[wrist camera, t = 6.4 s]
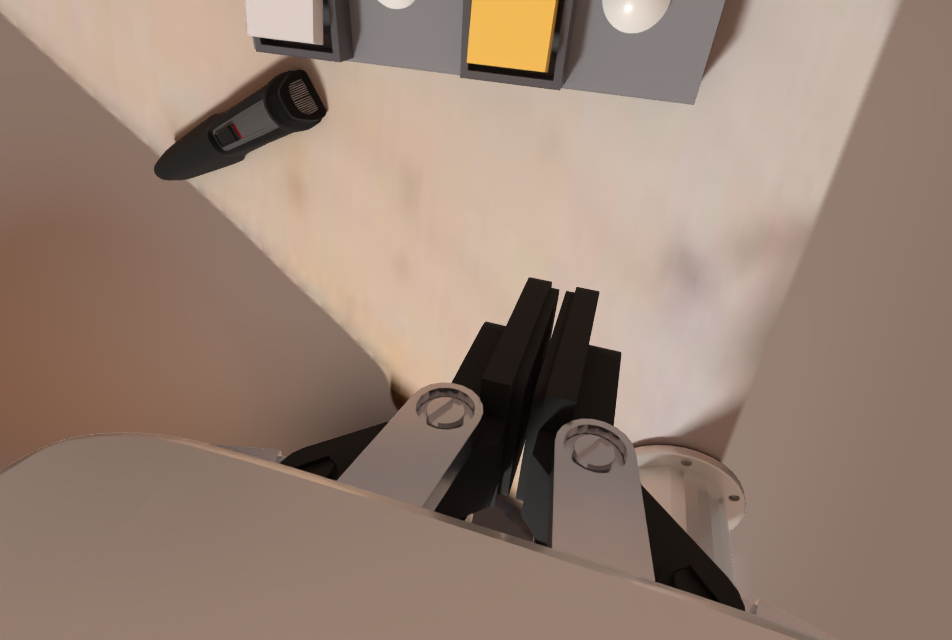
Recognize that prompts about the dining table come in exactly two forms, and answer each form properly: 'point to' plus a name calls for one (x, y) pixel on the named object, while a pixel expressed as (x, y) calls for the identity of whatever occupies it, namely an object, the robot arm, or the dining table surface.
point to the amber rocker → (512, 33)
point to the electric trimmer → (244, 127)
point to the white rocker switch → (286, 20)
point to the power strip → (572, 55)
